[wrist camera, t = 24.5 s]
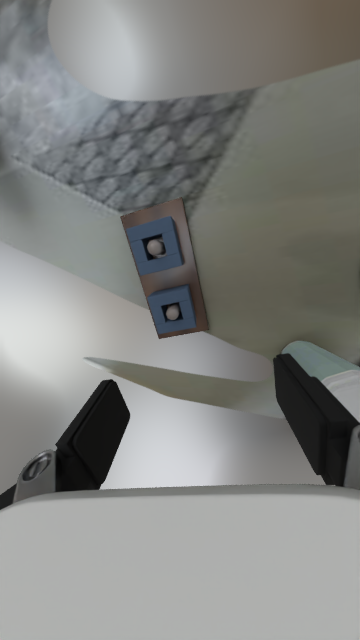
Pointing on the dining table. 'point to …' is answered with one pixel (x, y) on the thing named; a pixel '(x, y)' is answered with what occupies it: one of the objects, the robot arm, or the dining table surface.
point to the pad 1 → (151, 231)
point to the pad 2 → (159, 309)
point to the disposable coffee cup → (330, 373)
